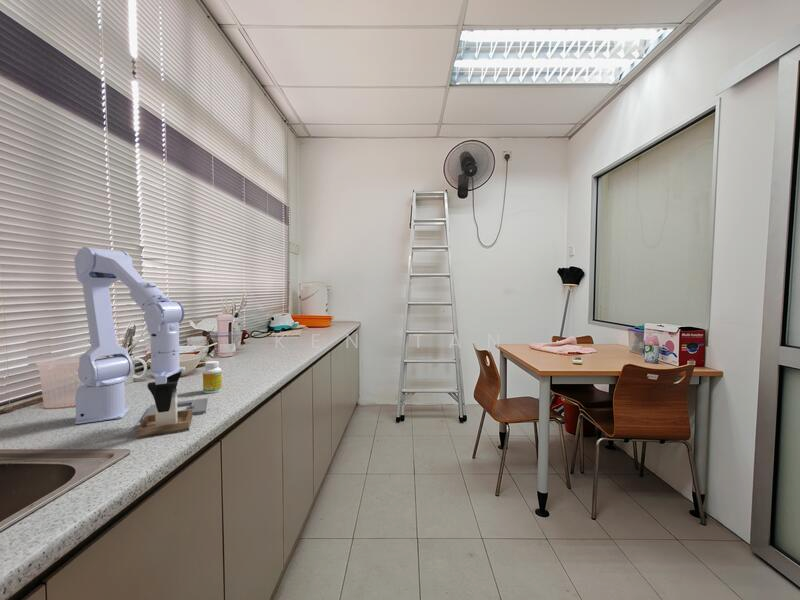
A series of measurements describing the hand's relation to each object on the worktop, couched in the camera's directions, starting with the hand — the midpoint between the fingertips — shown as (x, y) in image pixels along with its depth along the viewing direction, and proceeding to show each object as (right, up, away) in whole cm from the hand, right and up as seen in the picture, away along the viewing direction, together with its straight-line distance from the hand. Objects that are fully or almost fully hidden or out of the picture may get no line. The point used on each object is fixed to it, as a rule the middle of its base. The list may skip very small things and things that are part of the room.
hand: (166, 406), depth 83 cm
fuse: (0, -4, 0) cm, 4 cm away
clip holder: (-4, -5, +11) cm, 13 cm away
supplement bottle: (-5, -4, +30) cm, 30 cm away
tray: (0, -5, 0) cm, 5 cm away
